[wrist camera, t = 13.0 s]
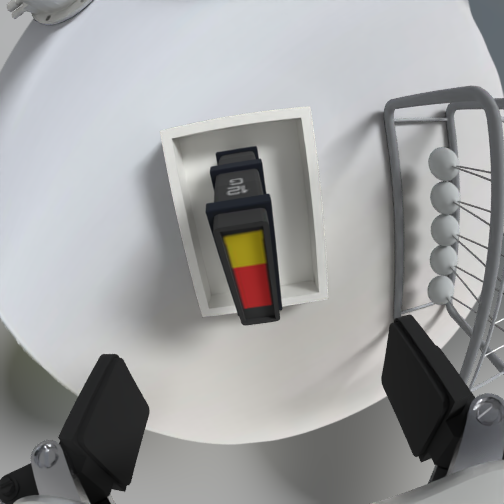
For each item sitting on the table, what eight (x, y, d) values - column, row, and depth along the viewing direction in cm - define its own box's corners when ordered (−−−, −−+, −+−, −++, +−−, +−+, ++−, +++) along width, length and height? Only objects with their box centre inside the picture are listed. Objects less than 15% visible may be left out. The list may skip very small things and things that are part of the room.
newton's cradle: (447, 308, 38) (512, 380, 21) (391, 325, 38) (447, 416, 22) (447, 101, 27) (556, 100, 10) (379, 101, 28) (488, 82, 11)
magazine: (251, 115, 26) (274, 214, 16) (265, 218, 35) (285, 331, 25) (212, 121, 26) (204, 225, 16) (234, 223, 36) (242, 337, 25)
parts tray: (206, 299, 36) (202, 317, 32) (170, 131, 29) (159, 130, 25) (320, 282, 35) (328, 299, 32) (302, 110, 28) (310, 106, 24)
